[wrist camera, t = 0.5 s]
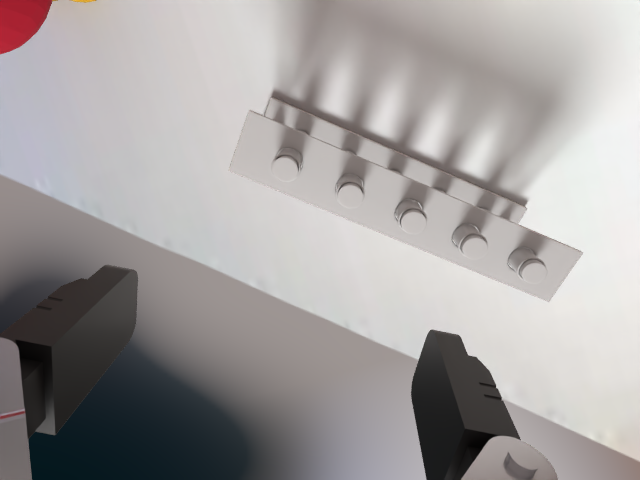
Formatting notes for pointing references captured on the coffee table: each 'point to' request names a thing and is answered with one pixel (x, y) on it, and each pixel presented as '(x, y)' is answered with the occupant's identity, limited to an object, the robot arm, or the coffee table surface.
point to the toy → (22, 21)
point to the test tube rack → (398, 198)
